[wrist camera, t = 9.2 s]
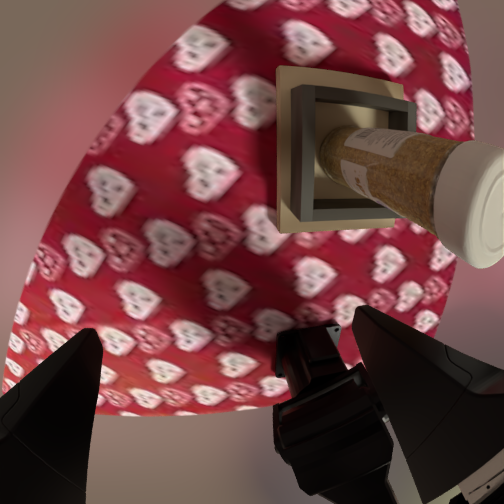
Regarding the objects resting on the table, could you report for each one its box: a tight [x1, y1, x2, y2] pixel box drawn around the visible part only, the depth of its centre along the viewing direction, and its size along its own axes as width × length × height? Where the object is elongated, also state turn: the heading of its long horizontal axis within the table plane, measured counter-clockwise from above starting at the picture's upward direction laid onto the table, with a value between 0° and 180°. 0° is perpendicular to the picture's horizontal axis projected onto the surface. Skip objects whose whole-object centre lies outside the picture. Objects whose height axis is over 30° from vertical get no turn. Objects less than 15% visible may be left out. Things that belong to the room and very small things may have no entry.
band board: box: [276, 65, 416, 234], centre depth 18 cm, size 12×10×4 cm
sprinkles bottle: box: [320, 125, 504, 268], centre depth 13 cm, size 5×5×14 cm
